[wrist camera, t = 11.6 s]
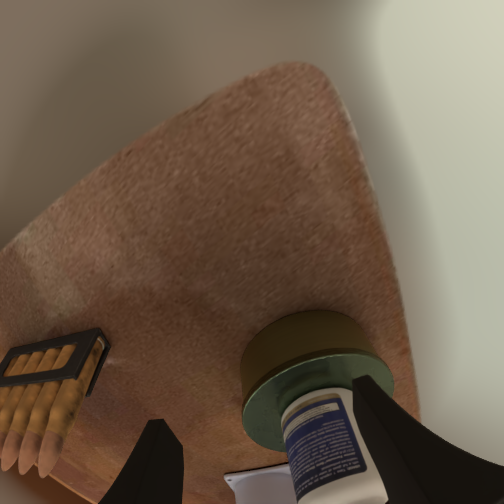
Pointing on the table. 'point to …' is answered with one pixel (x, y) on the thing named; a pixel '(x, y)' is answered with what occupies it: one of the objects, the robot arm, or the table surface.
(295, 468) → the pill bottle
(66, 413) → the rifle cartridge clip
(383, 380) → the tin
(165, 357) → the table surface
